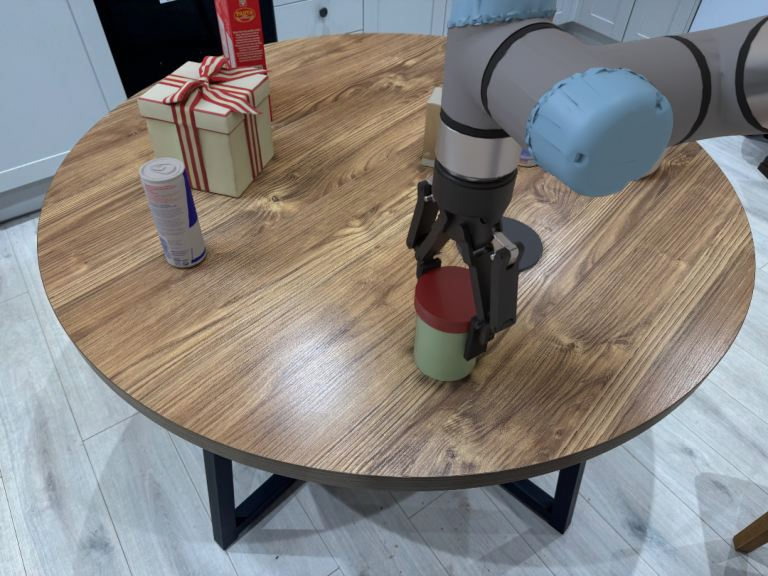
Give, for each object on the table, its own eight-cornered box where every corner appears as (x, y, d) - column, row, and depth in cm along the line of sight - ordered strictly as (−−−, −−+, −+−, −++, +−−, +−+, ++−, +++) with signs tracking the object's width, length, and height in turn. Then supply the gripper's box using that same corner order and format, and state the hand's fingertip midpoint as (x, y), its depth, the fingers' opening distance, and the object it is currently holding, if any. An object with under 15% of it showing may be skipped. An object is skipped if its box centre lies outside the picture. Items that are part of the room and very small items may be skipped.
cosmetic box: (429, 148, 105) (435, 85, 97) (452, 152, 105) (460, 89, 96) (420, 166, 101) (425, 101, 93) (444, 171, 100) (451, 106, 92)
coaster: (560, 254, 85) (561, 251, 85) (493, 285, 80) (494, 282, 79) (502, 209, 93) (503, 206, 92) (438, 234, 87) (439, 231, 87)
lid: (508, 314, 63) (511, 302, 62) (445, 346, 60) (447, 334, 58) (459, 268, 69) (461, 256, 67) (398, 295, 65) (399, 282, 64)
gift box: (263, 203, 92) (248, 103, 80) (156, 187, 94) (126, 87, 82) (295, 149, 104) (286, 55, 92) (200, 136, 106) (180, 43, 94)
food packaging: (272, 121, 111) (256, -19, 94) (246, 125, 110) (224, -16, 92) (254, 89, 121) (236, -44, 103) (230, 92, 119) (207, -41, 102)
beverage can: (212, 261, 82) (190, 172, 71) (173, 274, 79) (144, 185, 69) (200, 239, 85) (177, 151, 74) (162, 251, 83) (133, 162, 72)
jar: (489, 364, 70) (504, 304, 62) (437, 391, 67) (447, 332, 59) (450, 323, 74) (460, 263, 67) (401, 347, 71) (405, 287, 64)
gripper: (596, 210, 46) (536, 377, 62) (438, 101, 59) (422, 263, 75) (528, 240, 43) (483, 408, 59) (377, 119, 56) (373, 283, 72)
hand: (449, 327), depth 67 cm, fingers closed on lid, 9 cm apart
